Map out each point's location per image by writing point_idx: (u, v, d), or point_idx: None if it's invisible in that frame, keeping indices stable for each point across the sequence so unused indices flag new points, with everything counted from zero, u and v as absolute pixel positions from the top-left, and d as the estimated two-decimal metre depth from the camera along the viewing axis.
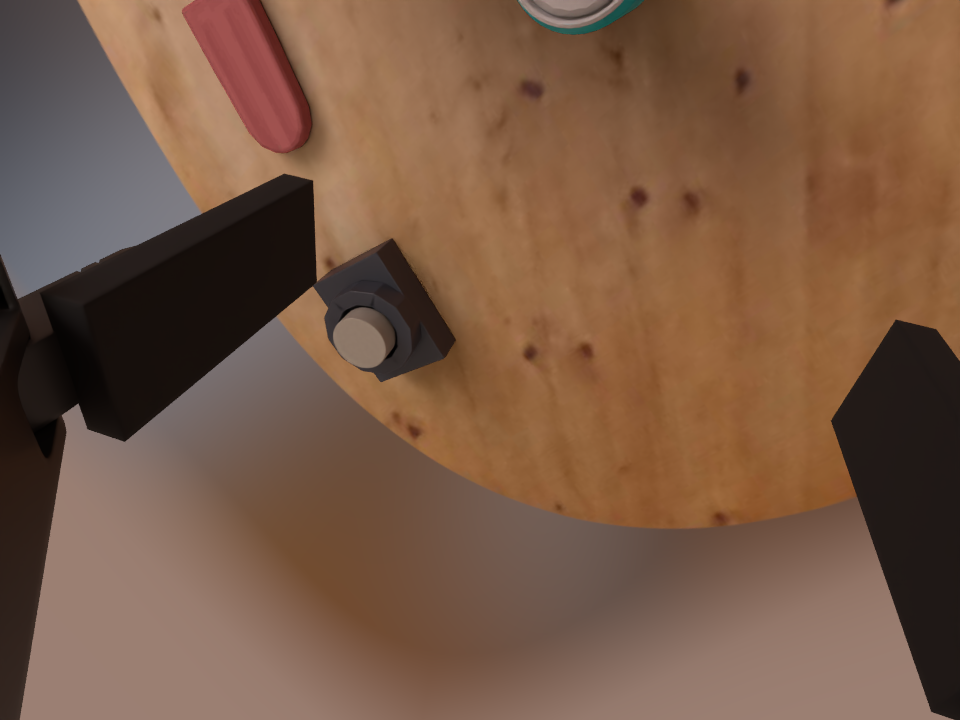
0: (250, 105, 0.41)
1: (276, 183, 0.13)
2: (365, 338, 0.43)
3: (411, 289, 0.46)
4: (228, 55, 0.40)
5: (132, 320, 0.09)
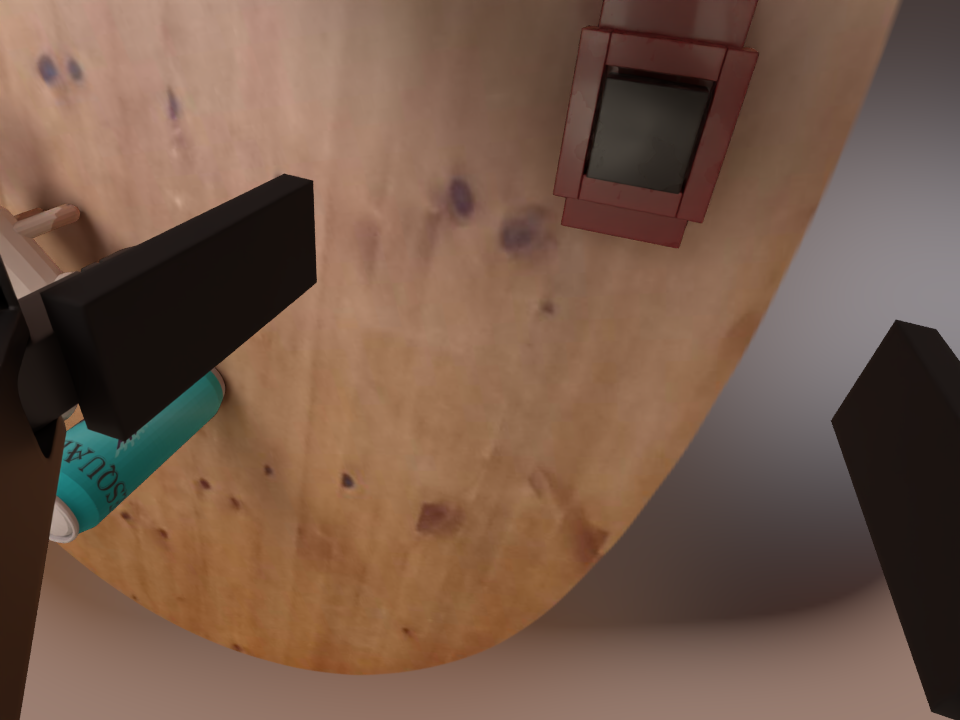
0: None
1: (276, 183, 0.13)
2: None
3: None
4: None
5: (132, 320, 0.09)
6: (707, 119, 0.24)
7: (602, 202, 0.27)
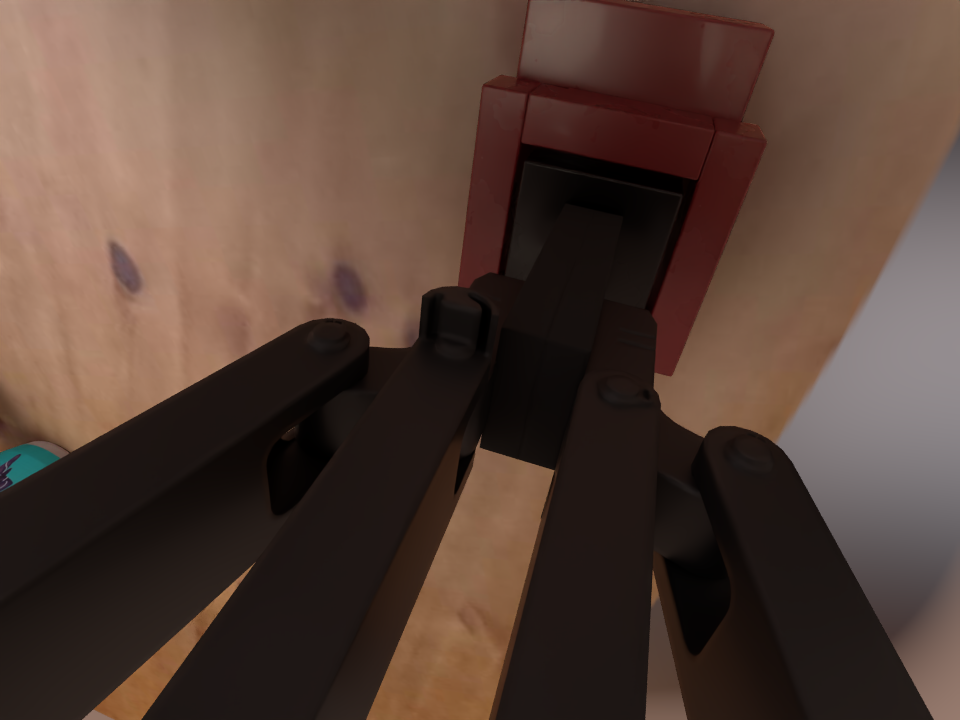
0: None
1: (569, 213, 0.14)
2: None
3: None
4: None
5: None
6: (680, 236, 0.15)
7: None
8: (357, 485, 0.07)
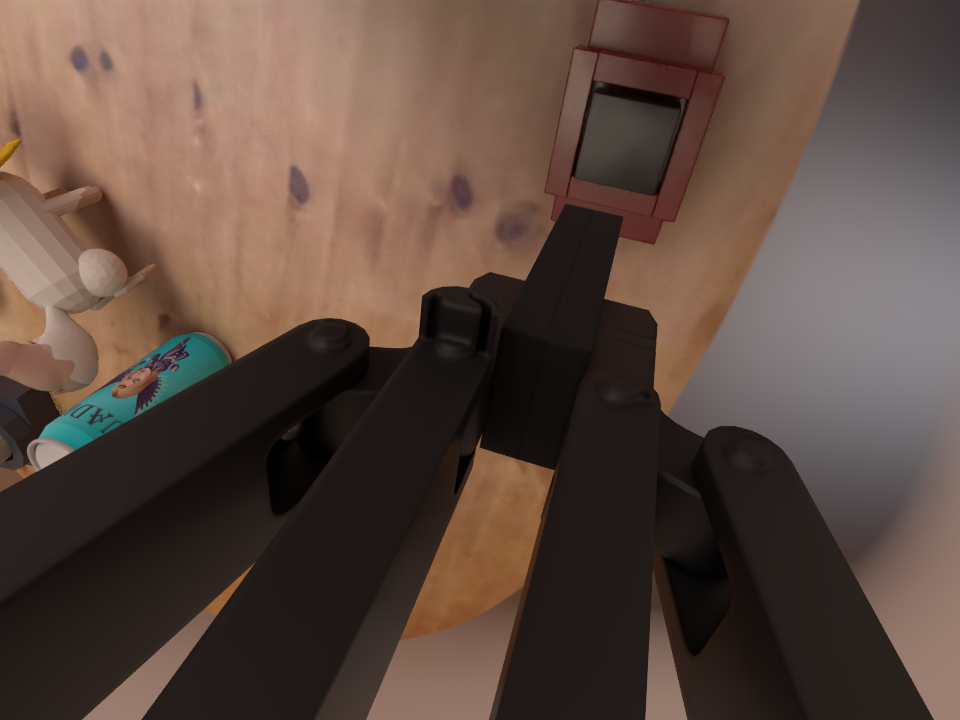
0: None
1: (569, 213, 0.14)
2: None
3: (44, 421, 0.60)
4: None
5: None
6: (680, 132, 0.27)
7: (587, 201, 0.30)
8: (357, 485, 0.06)
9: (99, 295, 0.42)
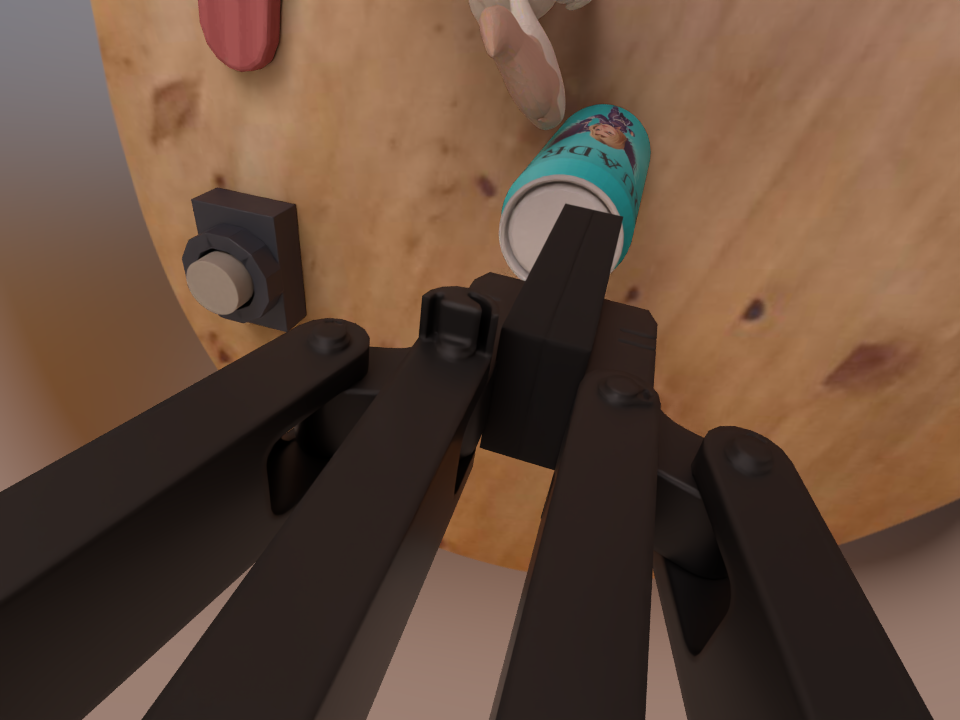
0: (216, 0, 0.36)
1: (569, 214, 0.14)
2: (220, 288, 0.42)
3: (289, 260, 0.45)
4: None
5: None
6: None
7: None
8: (357, 485, 0.06)
9: None
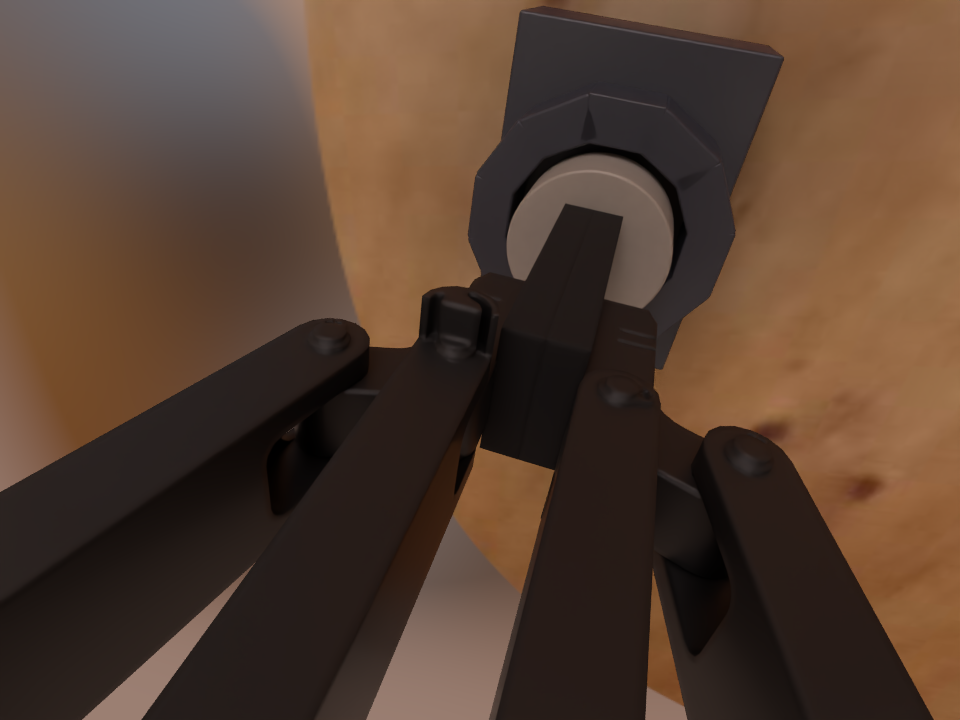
0: None
1: (569, 213, 0.14)
2: (617, 253, 0.15)
3: None
4: None
5: None
6: None
7: None
8: (357, 485, 0.06)
9: None
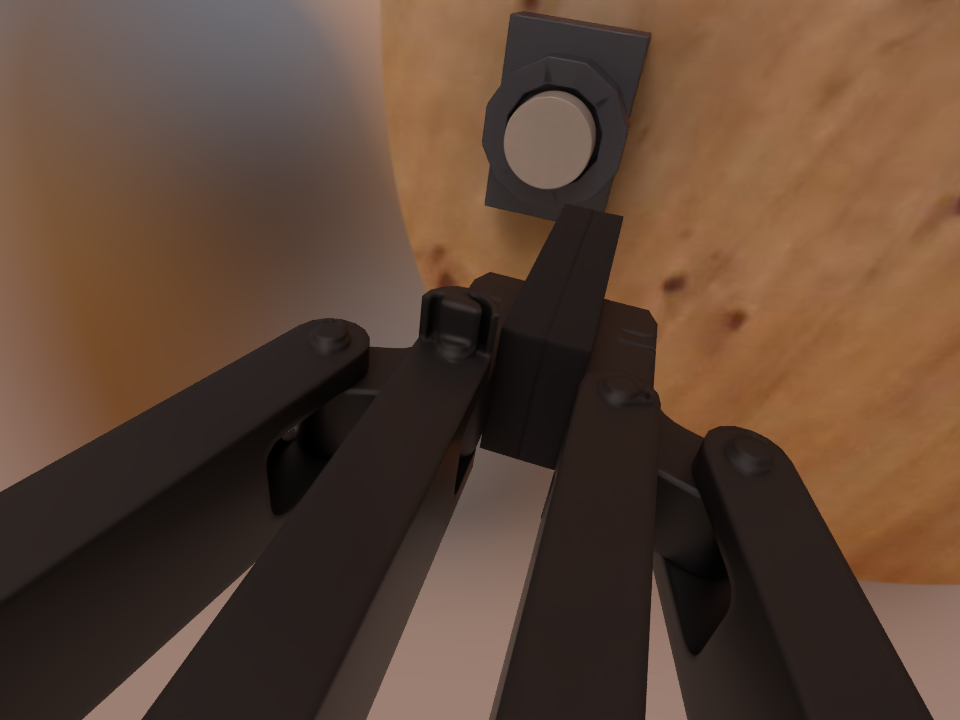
0: None
1: (569, 213, 0.14)
2: (563, 143, 0.28)
3: None
4: None
5: None
6: None
7: None
8: (357, 485, 0.06)
9: None
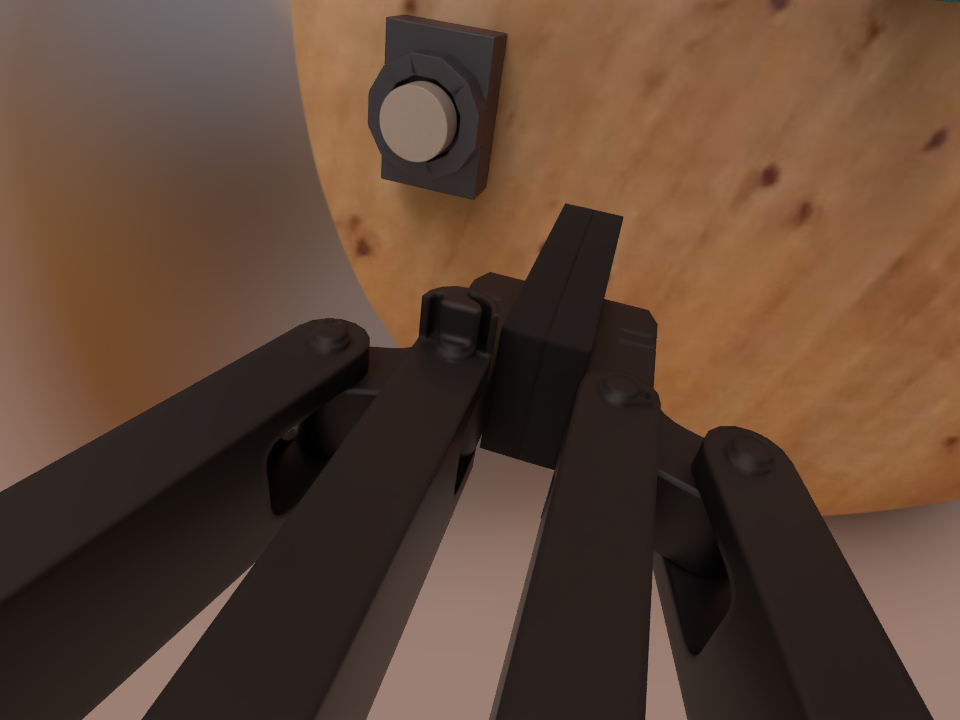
0: None
1: (569, 213, 0.14)
2: (425, 123, 0.34)
3: (491, 105, 0.38)
4: None
5: None
6: None
7: None
8: (357, 485, 0.06)
9: None
